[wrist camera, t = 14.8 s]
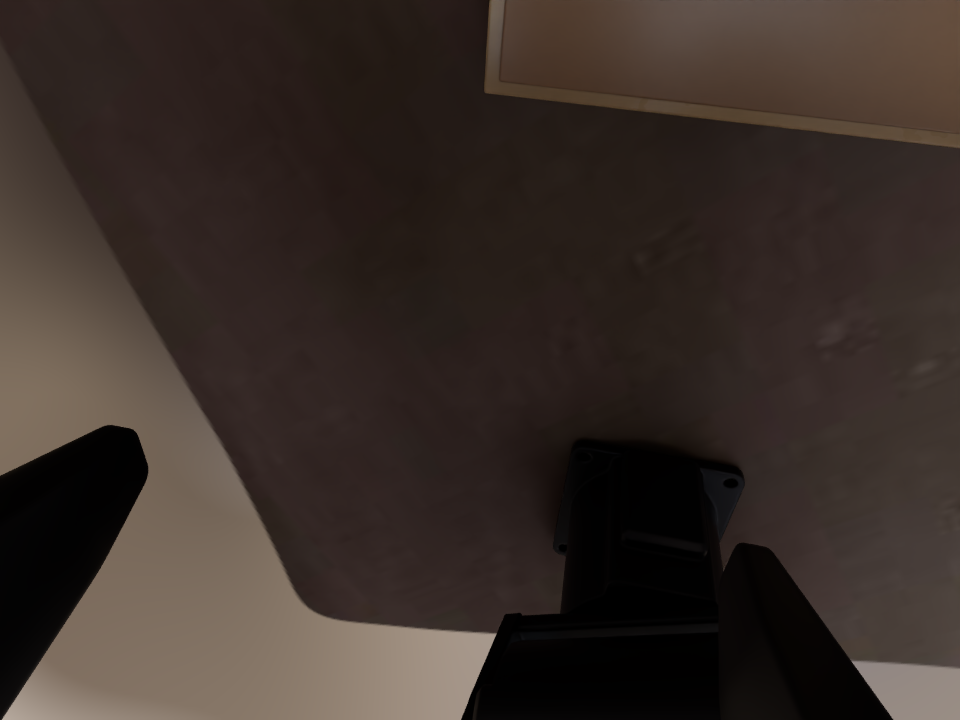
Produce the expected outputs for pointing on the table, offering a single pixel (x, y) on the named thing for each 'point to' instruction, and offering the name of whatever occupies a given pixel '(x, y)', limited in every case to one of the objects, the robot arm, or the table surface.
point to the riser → (741, 61)
